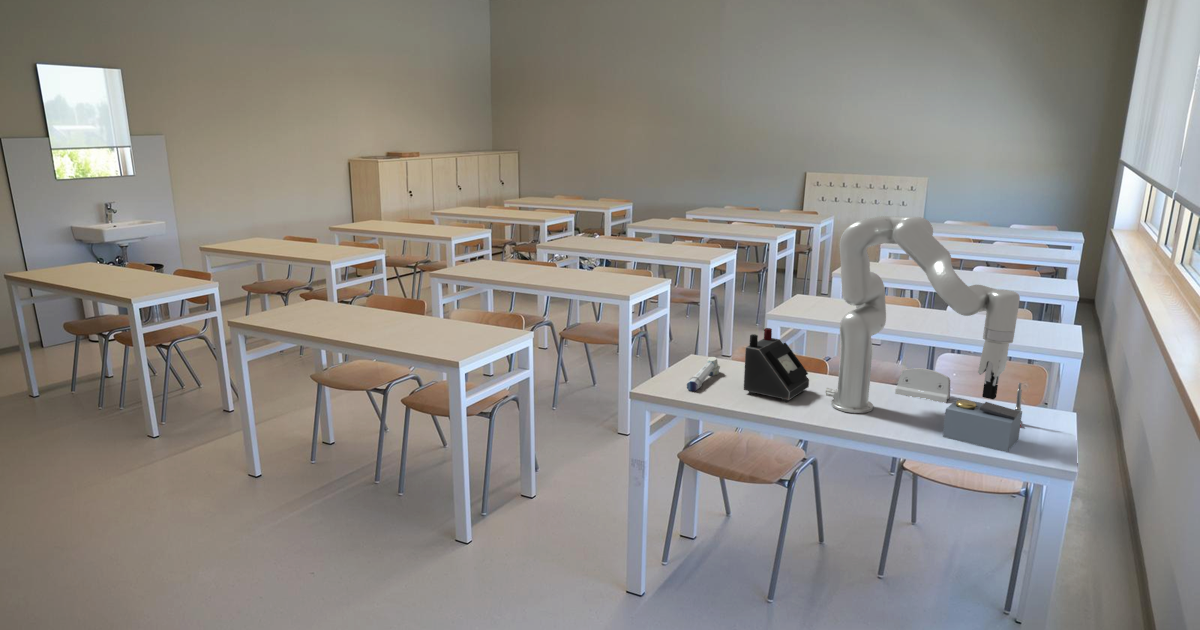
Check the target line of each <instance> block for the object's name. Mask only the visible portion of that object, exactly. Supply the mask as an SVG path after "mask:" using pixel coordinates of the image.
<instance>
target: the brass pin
mask: <svg viewBox="0 0 1200 630" xmlns="http://www.w3.org/2000/svg"><path fill="white" fill-rule="evenodd" d="M972 401H973V400H970V401H969V399H965V400H958V401H957V402H956V406H957V407H960V408H963V409H969V410H972V409H975V408H976V403H975V402H976V401H975V402H972Z"/></svg>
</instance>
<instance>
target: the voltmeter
mask: <svg viewBox="0 0 1200 630" xmlns="http://www.w3.org/2000/svg"><path fill="white" fill-rule="evenodd" d="M772 330H773V329H772V328H769V327H766V328H764V333H763V338H762V339H760V340H759V339H758V338H759V336H758V334H753V333H752V334H750V335H749V345H747V346H745V351H744V353H745V354H744V355H745V356H744V357H745V358H744V370H743V371H744V372H743V373H744V375H743V390H744V391H747V392H748V394H750V395H755V394H756V393H757V394H761V395H766V396H769V397H775V398H779V399H781V401H782V402H784V403H785V402H786V403H787V402H789V401H790V400H791V399H792V398H795V396H797V395H799V394H800V393H803V392H804V391H805V390H807V389H808V388H809V386H810V379H809V378H808V375H809V372H808V371H807V370H806V368H805V366H804V365H803V364H802V362H800V360H799V358H798V357H797V356H796V354H795V353H794V352H793V350H792V349H791V348H790V347H789V345H788V344H787V342H782V340H781V339H780V338H774V337H773V336H772V335H773V333H772Z"/></svg>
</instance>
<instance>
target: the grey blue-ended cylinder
mask: <svg viewBox="0 0 1200 630" xmlns="http://www.w3.org/2000/svg"><path fill="white" fill-rule="evenodd" d="M720 369H721V366H720V364H719V363H718V359H717V357H715V356H710V357H708V358H707V360H706V364H704V365H703V367H701V368H700V370H699V371H697V372H696V373H695V374H694V375H692V377H690V378H689V379H688V381H687V382H686V389H687V390H688V391H689V392H694V391H695V392H696V391H697V390H698V389H700V388H701V387H702V386H703V385H702V384H703V383H704V382H705V380H706V379H707V377H708V376H711V377H712V376H713V377H715V376H716V375H717V376H718V375H719V374H720Z"/></svg>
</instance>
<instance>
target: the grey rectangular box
mask: <svg viewBox="0 0 1200 630" xmlns="http://www.w3.org/2000/svg"><path fill="white" fill-rule="evenodd" d="M958 400H966V399H965V398H957V399H956V400H955V401H953V402H952V403H951V404H950V405H949V406H948V407H946V408H945V413H944V414H945V415H944V420H943V421H944V423H943V430H942V431H943V432H942V437H943V438H946V439H951V440H955V441H957V442H958V441H959V442H962V443H963V442H964V443H967V444H972V445H976V446H979V447H984V448H987V449H991V450H992V449H993V450H996V451H1000V452H1005V453H1009V451H1010V450H1011V449H1012V448H1013V446H1014V445H1016V443H1017V442H1018V441H1019V439H1020V431H1021V427H1020V425H1021V426H1022V416H1023V411H1022V410H1021V411H1020V414H1019V415H1018V417H1017V418H1016V419H1015V420H1012V419H1009V418H1005V417H1002V416H999V415H995V414H992V413H988V412H985V411H982V410H979V409H980V407H981V406H982V405H983V404H984V403H985V402H984V403H983V402H979V401H975V400H969V399H968V400H969V401H972V402H975V403H976V408H975V409H972V410H969V409H963V408H960V407H957V406H956V402H957V401H958ZM1017 411H1018V410H1017Z"/></svg>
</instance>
